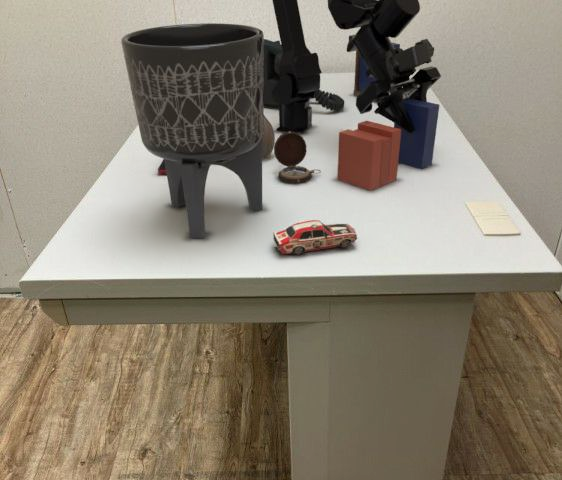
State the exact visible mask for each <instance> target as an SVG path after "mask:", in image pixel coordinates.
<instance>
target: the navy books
mask: <svg viewBox="0 0 562 480" xmlns="http://www.w3.org/2000/svg"><path fill="white" fill-rule="evenodd" d="M391 43H392V45H393V46H394V48H395V49H398V48H401V43H396V42H391ZM367 70H368V67H367V65H366V64H365V62H364V60H363V58H362V56H361V55H360V65H359V84H358V91H360V92H362V91H363V90H364V89H365V88H366V87H367V85H368V84H369V83H370V82H374V81H375V80H374V78H373V77H369V78H368V77H367V76H366V74H365V73H366V72H367Z"/></svg>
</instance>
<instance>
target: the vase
mask: <svg viewBox="0 0 562 480" xmlns="http://www.w3.org/2000/svg"><path fill="white" fill-rule="evenodd" d="M275 134H276V133H275V131H274V127H273V125H272V123H271V122H270V121H269V119H268V118H267V117H266V116H265V114H264V117H263V137H262V160H265V159H267V158H268V157H270V156H271V154H272V152H274V146H275V142H276V135H275Z"/></svg>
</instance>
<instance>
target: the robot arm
mask: <svg viewBox="0 0 562 480" xmlns="http://www.w3.org/2000/svg"><path fill="white" fill-rule="evenodd" d="M271 1H272V6H273V10H274V14H275V21H276V26H277V30H278V35H279V39H280V40H279V41H280V44H281V45H282V51H283V53H282V57H281V61H280V65H279V74H280V80H279V81H278V83H277V84H276V86H275V87H274V88H273V90H272V91H271V94H272V98H273V101H274V102H276V103H279V109H278V122H279V123H278V125H279V126H278V127H277V128H276V130H275V131H276V132H281V133H286V132H289V131H291V132H295V133H298V134H304V133H306V132H307V131H308V130H310V128H312V127H313V107H312V106H311V100H312V99H315V95H316V91H317V88H318V85H319V84H320V85H321V74H322V73H323V72H322V69H321V67H320V60H319V59H320V58H319V55H318V53H317V52H311V51H310V49H309V48H308V47H307V45H306V40H305V35H304V29H303V24H302V19H301V13H300V8H299V3H298V0H271ZM327 9H328V11H329V13H330V15H331V17H332V19H333V22H334V23H335V25H336V27H337V28H338V29H340V30H344V31H346V30H353V29H358V28H359V29H358V30H357V31H356V33H355V34H350V35H348V42H347V45H346V52H347V53H352V52H356V50H358V51H359V53H360V55H361V56H362V58H363V60H364V62H365V64H366V65H367V67H368V70H367V72H366V73H365V74H366V76H367V77H368V78H369V77H373V78H374V80H375V81H374V82H370V83H369V84H368V85H367V87H366V88H365V89H364V90H363V91H362V92H361V93H360V94H359V96H356V98H355V107H356V109H357V111H358V112H359V114H360V115H364V114H367V113H370V112H372V109H373V103H375V102H374V101H377V102H376V105H377V108H375V110H374V111H373V112H374V114H375V115H380V116H382V117H383V118H385V119H387V120H389V121H390V122H392V123H393V124H394V123H395V124H397V125H398V126H400V127H401V128H403V129H404V130H406V131H408V132H409V133H413V132H414V131H415V128H414V125H413V122H412V120H411V118H410V116H409V114H408V112H407V110H406V107H405V105H404V103H403V94H404V96H405V98H410V99H415V100H420V101H425V102H428V101H427V93H428V91H429V89H430V88H431V87H432V86H434V85H435V84H436V82H438V81H439V79H441V78H442V74H441V73H440V72H439V69H438V68H437V66H428V67H423V68H420V69H418V71H417V69H416V68H418V67H420V66H422V65H424V64H430V63H431V62H432V57H433V56H434V51H435V47H434V46H433V44H432V43H431V42H430V40H429V39H428V38H425V39H421V40H420V41H417V42H415V44H414V45H412V46H410V47H408V48H406V49H404V50H403V48H401V47H400V48H398V49H395V48H394V46H393V45H392V43H393V42H392V41H391V40H390V39H395V38H397V37H399V36H400V35H401V33H402V32H404V30H405V29H406V28H407V27H408V25H410V23H411V22H412V21H413V20H414V18H416V17H417V15H418V14H419V13H420V10H421V4H420V1H419V0H327ZM411 76H412V77H411ZM410 77H411V78H410Z"/></svg>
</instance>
